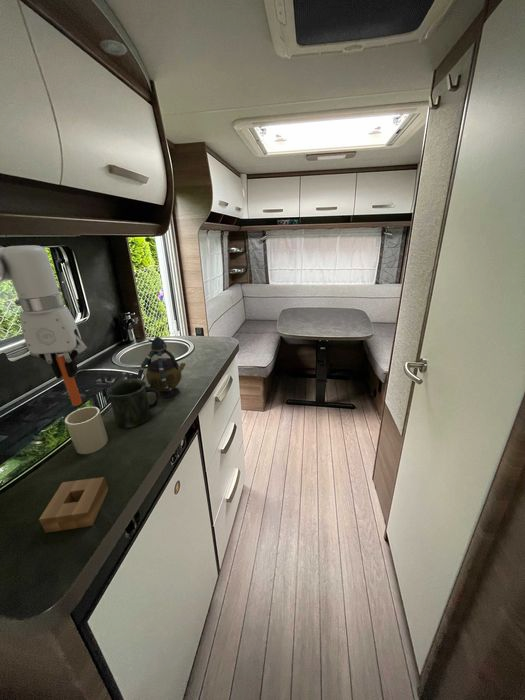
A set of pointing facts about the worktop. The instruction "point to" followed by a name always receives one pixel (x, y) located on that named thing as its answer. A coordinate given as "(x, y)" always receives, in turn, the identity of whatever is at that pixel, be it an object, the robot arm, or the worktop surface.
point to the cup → (86, 430)
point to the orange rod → (69, 381)
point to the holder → (74, 505)
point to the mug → (131, 402)
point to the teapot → (162, 371)
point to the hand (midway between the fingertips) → (67, 374)
